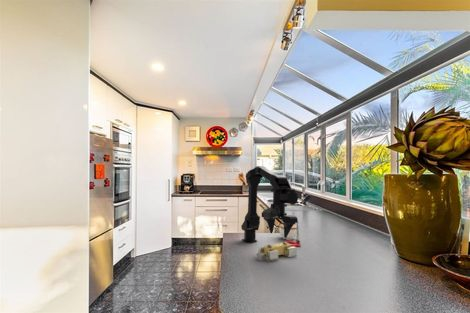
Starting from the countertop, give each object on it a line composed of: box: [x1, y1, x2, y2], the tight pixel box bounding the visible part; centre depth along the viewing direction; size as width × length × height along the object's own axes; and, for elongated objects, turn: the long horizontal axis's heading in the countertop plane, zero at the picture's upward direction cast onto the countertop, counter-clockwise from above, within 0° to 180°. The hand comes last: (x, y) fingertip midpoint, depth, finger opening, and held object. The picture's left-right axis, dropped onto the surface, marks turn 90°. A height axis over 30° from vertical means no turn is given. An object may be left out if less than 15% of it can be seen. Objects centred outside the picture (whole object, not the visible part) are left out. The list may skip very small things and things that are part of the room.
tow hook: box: [284, 222, 302, 247], centre depth 131 cm, size 8×13×9 cm
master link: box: [263, 241, 292, 257], centre depth 111 cm, size 4×14×5 cm, turn 124°
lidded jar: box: [278, 224, 297, 241], centre depth 144 cm, size 11×11×9 cm
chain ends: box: [256, 246, 298, 263], centre depth 111 cm, size 8×23×4 cm, turn 124°
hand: (278, 235), depth 111 cm, fingers open, 9 cm apart
